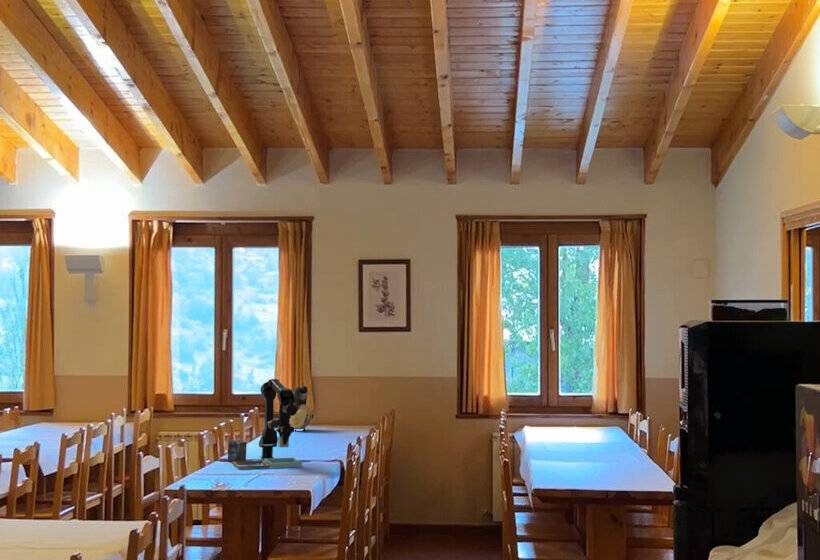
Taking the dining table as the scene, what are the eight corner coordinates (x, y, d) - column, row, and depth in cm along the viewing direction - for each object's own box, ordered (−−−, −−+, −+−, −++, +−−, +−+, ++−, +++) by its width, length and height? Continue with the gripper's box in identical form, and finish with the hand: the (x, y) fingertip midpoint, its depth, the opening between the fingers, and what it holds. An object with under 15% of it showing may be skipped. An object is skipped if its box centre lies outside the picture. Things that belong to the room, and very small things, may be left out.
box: (227, 461, 453) (228, 441, 454) (234, 460, 458) (235, 440, 459) (238, 463, 449) (239, 442, 450) (246, 462, 454) (246, 441, 455)
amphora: (306, 433, 579) (308, 387, 581) (282, 431, 582) (284, 386, 584) (314, 430, 597) (316, 386, 598) (290, 428, 600) (292, 385, 601)
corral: (232, 464, 445) (232, 461, 445) (262, 463, 451) (262, 460, 451) (238, 469, 431) (238, 466, 431) (269, 468, 437) (269, 465, 437)
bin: (264, 463, 451) (264, 458, 452) (293, 462, 457) (293, 457, 457) (271, 468, 437) (271, 463, 437) (301, 467, 443) (301, 462, 443)
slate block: (277, 446, 449) (278, 436, 449) (286, 445, 451) (286, 436, 451) (279, 447, 445) (280, 437, 445) (288, 447, 446) (288, 437, 447)
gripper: (264, 411, 454) (263, 442, 453) (273, 415, 437) (272, 447, 436) (285, 411, 458) (284, 441, 458) (295, 415, 441) (293, 446, 440)
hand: (283, 444), depth 448 cm, fingers closed on slate block, 4 cm apart
